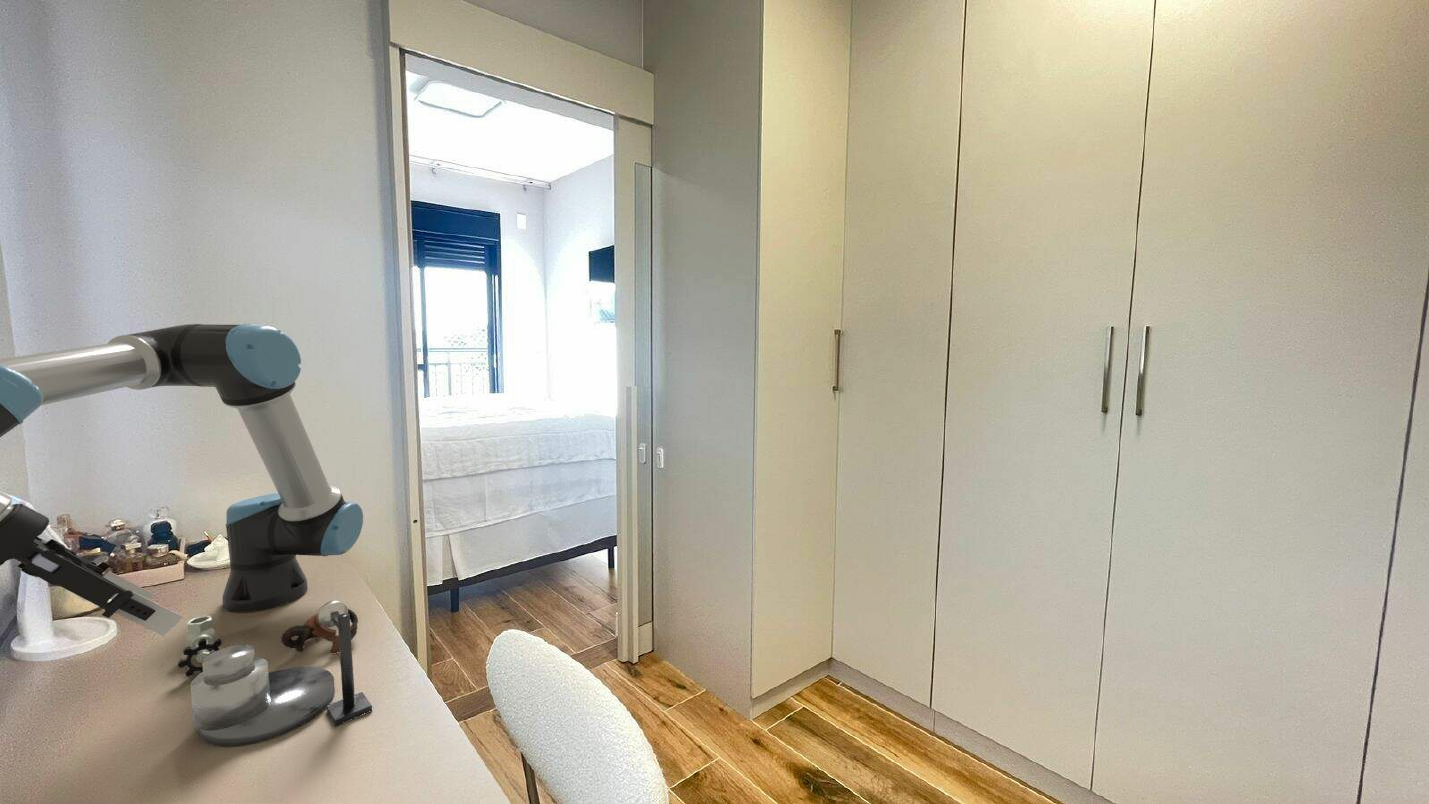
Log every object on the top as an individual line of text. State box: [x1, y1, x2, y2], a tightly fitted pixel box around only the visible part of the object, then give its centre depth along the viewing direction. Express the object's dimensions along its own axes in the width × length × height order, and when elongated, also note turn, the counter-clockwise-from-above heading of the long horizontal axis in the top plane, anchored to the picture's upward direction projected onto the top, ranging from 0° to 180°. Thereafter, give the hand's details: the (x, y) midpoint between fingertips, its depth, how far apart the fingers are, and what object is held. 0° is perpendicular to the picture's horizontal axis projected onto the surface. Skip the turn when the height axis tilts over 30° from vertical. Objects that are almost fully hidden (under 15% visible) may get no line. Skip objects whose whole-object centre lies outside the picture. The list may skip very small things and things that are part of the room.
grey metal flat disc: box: [198, 666, 336, 748], centre depth 91 cm, size 17×17×2 cm
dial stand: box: [317, 599, 373, 727], centre depth 91 cm, size 10×5×16 cm, turn 47°
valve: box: [177, 615, 227, 677], centre depth 104 cm, size 7×7×12 cm
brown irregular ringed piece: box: [280, 608, 359, 655], centre depth 108 cm, size 12×10×8 cm
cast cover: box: [189, 644, 271, 730], centre depth 87 cm, size 9×9×9 cm
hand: (158, 613), depth 79 cm, fingers open, 13 cm apart
